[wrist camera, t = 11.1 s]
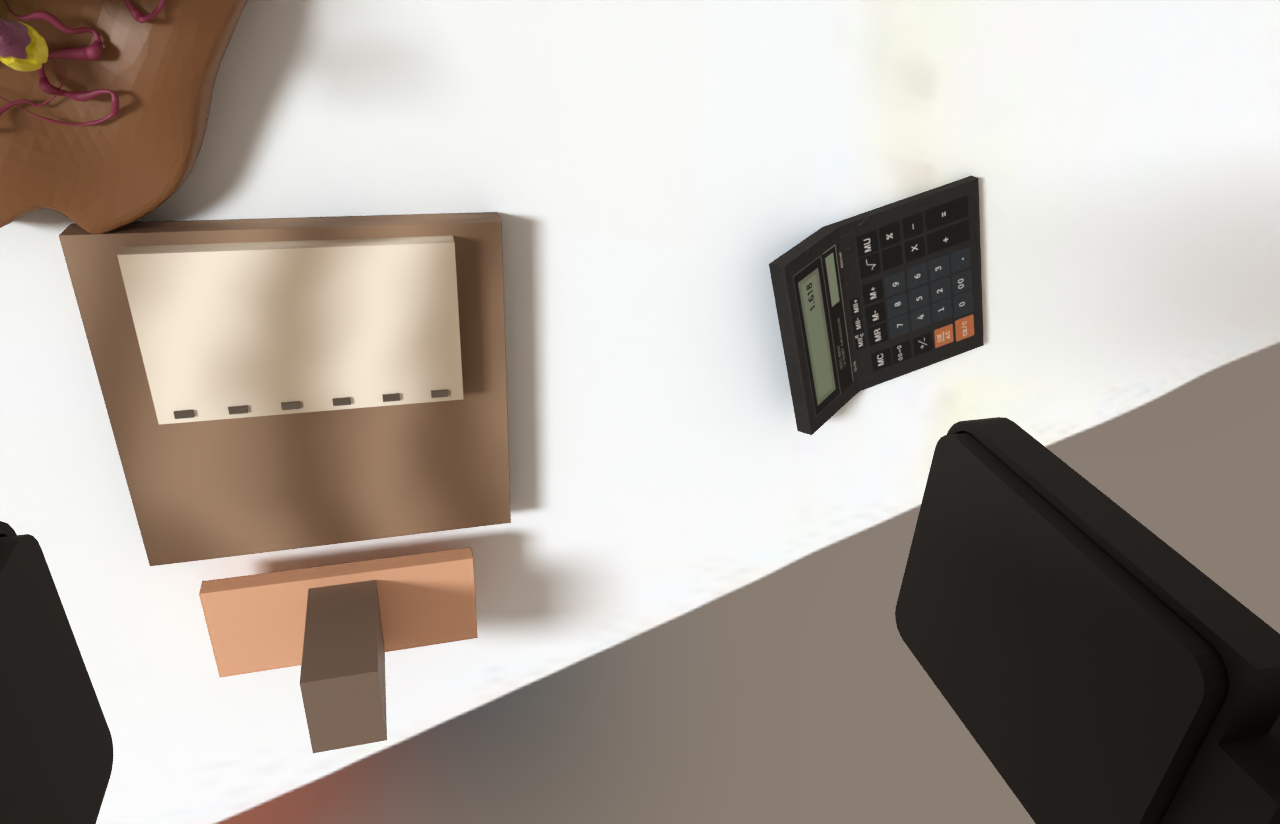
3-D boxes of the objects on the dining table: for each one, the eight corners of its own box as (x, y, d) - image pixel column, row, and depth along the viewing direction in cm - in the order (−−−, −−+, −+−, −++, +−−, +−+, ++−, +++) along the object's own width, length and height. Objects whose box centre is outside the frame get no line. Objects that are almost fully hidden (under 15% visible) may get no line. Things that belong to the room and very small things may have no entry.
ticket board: (496, 212, 37) (505, 229, 34) (506, 505, 44) (513, 535, 41) (70, 224, 33) (49, 244, 30) (157, 546, 40) (144, 581, 37)
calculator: (974, 339, 47) (1008, 361, 45) (779, 410, 46) (803, 437, 43) (967, 174, 42) (1006, 189, 40) (750, 249, 41) (775, 269, 39)
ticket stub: (471, 547, 42) (488, 644, 36) (475, 625, 44) (492, 729, 39) (202, 581, 39) (173, 693, 33) (222, 663, 41) (198, 782, 35)
